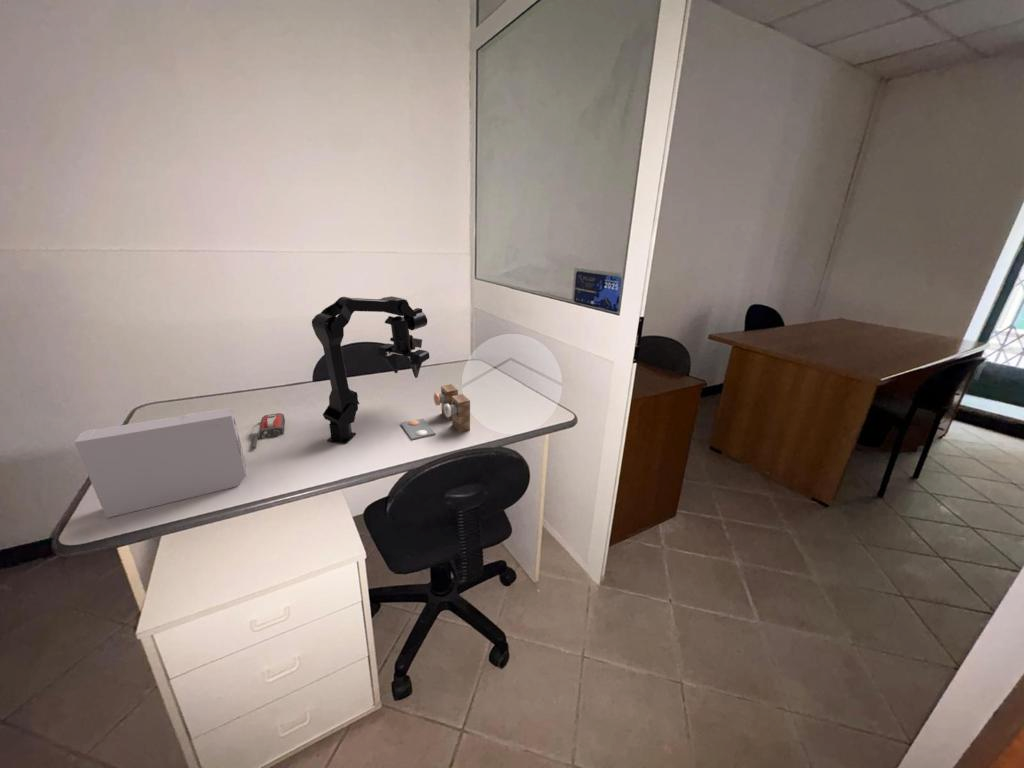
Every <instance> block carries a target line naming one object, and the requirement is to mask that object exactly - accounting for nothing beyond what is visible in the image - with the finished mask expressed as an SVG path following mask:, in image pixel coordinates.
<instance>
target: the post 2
mask: <svg viewBox="0 0 1024 768" xmlns="http://www.w3.org/2000/svg"><path fill="white" fill-rule="evenodd" d="M453 404H456V405H457V406H458V413H456V414H452V419H451V422H452V424H451V425H452V426H453V428H454V429H455V430H456V431H457V432H458V433H463V432H467V431H471V400H470V399H469V398H468V397H467V396H466V395H464V393H461V394H458V395H455V396H452V405H453Z"/></svg>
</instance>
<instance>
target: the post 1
mask: <svg viewBox="0 0 1024 768" xmlns="http://www.w3.org/2000/svg"><path fill="white" fill-rule="evenodd" d="M443 393H445V394H446V402H444V403H440V405H441V414H442V416H443V417H445V419H446V420H447V421H450V420H451V421H452V415H451V416H450V417H447V416H446V415H445V412H444V405H445V404H449V405H452V396H455V395H459V389H458V388H457V387H456V386H454V385H453V384H452V383H450V384H445V385H440V394H443Z"/></svg>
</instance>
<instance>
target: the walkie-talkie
mask: <svg viewBox="0 0 1024 768" xmlns="http://www.w3.org/2000/svg"><path fill="white" fill-rule="evenodd" d="M285 421H286V419H285V414H283V413H281V412H280V413H279V412H277V413H272V414H266V415H264V416H262V417H261V420H260V424H258V425H256V426H254V427H253V429H252V432H251V437H252V445H251V448H252V449H256V447H257V444H258V439H266V438H271V437H278V436H283V435H284V433H285Z"/></svg>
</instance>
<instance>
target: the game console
mask: <svg viewBox="0 0 1024 768" xmlns="http://www.w3.org/2000/svg"><path fill="white" fill-rule="evenodd" d="M233 409H234V408H233V407H232V406H230V407H225V408H220V409H212V410H207V411H206V410H204V411H200V412H192V413H186V414H183V415H178V416H170V417H166V418H160V419H153V420H146V421H140V422H134V423H128V424H127V423H126V424H122V425H115V426H108V427H104V428H98V429H97V428H92V429H87V430H85V431H82V432H80V434H79V435H78V437H77V438H76V439H75V440H74V444H75V447H76V449H77V452H78V455H79V456H80V459H81V461H82V463H83V466H84V468H85V470H86V473H87V475H88V478H89V480H90V482H91V485H92V488H93V490H94V493H95V494H96V498H97V500H98V502H99V505H100V506H101V508H102V511H103V514H104V515H105V518H106V519H109V518H112V517H116V516H120V515H125V514H128V513H135V512H137V511H142V510H145V509H150V508H154V507H157V506H163V505H166V504H170V503H174V502H178V501H179V502H180V501H183V500H186V499H190V498H191V499H192V498H196V497H198V496H204V495H207V494H210V493H211V494H212V493H215V492H218V491H219V492H220V491H223V490H227V489H232V488H235V487H239V486H240V485H241V483H243V481H244V480H245V478H246V477H247V462H246V459H245V455H244V450H243V447H242V443H241V438H240V434H239V430H238V427H237V426H238V425H237V421H236V418H235V414H234V410H233Z"/></svg>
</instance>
